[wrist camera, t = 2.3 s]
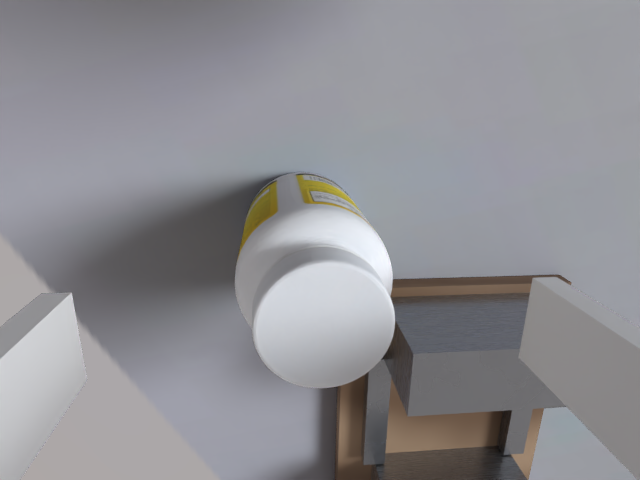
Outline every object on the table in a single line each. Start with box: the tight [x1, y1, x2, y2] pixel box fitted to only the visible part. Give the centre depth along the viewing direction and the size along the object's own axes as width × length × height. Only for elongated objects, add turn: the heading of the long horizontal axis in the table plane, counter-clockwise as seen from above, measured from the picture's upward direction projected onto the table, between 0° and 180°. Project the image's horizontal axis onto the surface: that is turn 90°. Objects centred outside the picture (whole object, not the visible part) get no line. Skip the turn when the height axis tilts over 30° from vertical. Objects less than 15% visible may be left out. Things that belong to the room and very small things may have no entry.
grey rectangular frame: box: [361, 292, 566, 480], centre depth 21 cm, size 13×9×5 cm
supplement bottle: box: [235, 172, 395, 388], centre depth 16 cm, size 5×5×10 cm
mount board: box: [335, 275, 571, 480], centre depth 24 cm, size 14×12×1 cm
